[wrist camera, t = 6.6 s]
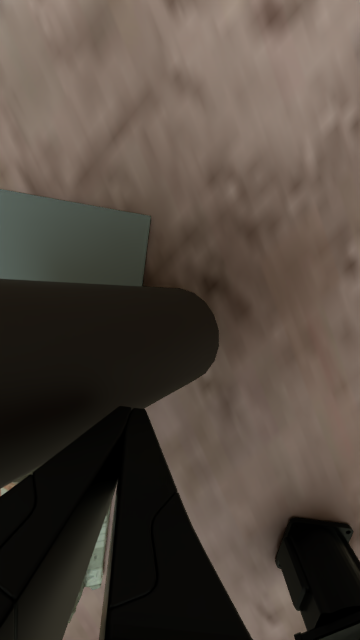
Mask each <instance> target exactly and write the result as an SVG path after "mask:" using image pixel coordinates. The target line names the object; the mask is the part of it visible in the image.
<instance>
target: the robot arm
mask: <svg viewBox="0 0 360 640" xmlns="http://www.w3.org/2000/svg"><path fill="white" fill-rule="evenodd" d="M117 482H118V483H117ZM116 485H117V491H116V498H115V507H114V515H113V524H112V533H111V541H110V550H109V558H108V567H107V575H106V584H105V592H104V601H103V609H102V618H101V626H100V635H99V640H253V639H252V638H251V636H250V634H249V632H248V630H247V629H246V627H245V625H244V623H243V621H242V619H241V618H240V616H239V614H238V612H237V610H236V608H235V606H234V605H233V603H232V601H231V599H230V597H229V595H228V593H227V591H226V590H225V588H224V586H223V584H222V582H221V580H220V578H219V577H218V575H217V573H216V571H215V569H214V567H213V565H212V563H211V562H210V560H209V558H208V556H207V554H206V552H205V550H204V548H203V546H202V544H201V542H200V540H199V538H198V536H197V534H196V532H195V530H194V529H193V526H192V524H191V522H190V519H189V517H188V515H187V512H186V510H185V508H184V505H183V503H182V500H181V498H180V495H179V493H178V492H177V488H176V486H175V483H174V480H173V478H172V475H171V473H170V470H169V468H168V465H167V463H166V460H165V458H164V455H163V453H162V450H161V448H160V445H159V442H158V440H157V437H156V435H155V432H154V430H153V427H152V425H151V422H150V420H149V417H148V415H147V412H146V410H145V409H141V408H133V409H132V408H131V407H127V406H119V407H117V408H116V409H115V410H113V411H112V412H111V413H109V414H108V415H107V416H106V417H104V418H103V419H102V420H100V421H99V422H98V423H96V424H95V425H94V426H92V427H91V428H90V429H89V430H87V431H86V432H85V433H83V434H82V435H81V436H79V437H78V438H77V439H75V440H74V441H73V442H72V443H70V444H69V445H68V446H66V447H65V448H64V449H62V450H61V451H60V452H59V453H57V454H56V455H55V456H53V457H52V458H51V459H49V460H48V461H47V462H45V463H44V464H43V465H42V466H40V467H39V468H38V469H36V470H35V471H34V472H33V474H30V475H28V476H27V477H26V478H24V479H23V480H22V481H20V482H19V483H18V484H17V485H15V486H14V487H12V488H11V489H10V490H8V491H7V492H6V493H4V494H3V495H2V496H0V640H62V639H63V636H64V633H65V630H66V627H67V625H68V622H69V619H70V616H71V613H72V610H73V608H74V605H75V602H76V599H77V596H78V594H79V591H80V588H81V585H82V582H83V579H84V577H85V574H86V571H87V568H88V565H89V562H90V560H91V557H92V554H93V551H94V548H95V545H96V543H97V540H98V537H99V534H100V531H101V529H102V526H103V523H104V520H105V517H106V514H107V512H108V509H109V506H110V503H111V500H112V497H113V495H114V492H115V488H116ZM352 534H353V530H352V528H351V526H350V525H348V524H341V523H333V522H324V521H316V520H308V519H300V518H292V519H290V521H289V523H288V526H287V529H286V532H285V535H284V537H283V540H282V543H281V546H280V549H279V551H278V554H277V557H276V560H275V562H276V565H277V567H278V568H280V569H282V572H283V575H284V578H285V581H286V584H287V587H288V590H289V593H290V596H291V599H292V602H293V605H294V607H295V609H296V610H297V611H300V612H301V615H302V617H303V620H304V623H305V626H306V629H307V631H306V632H304V633H300V632H299V633H297V634H294V637H295V640H360V561H359V560H358V558H357V556H356V555H355V553H354V551H353V550H352V548H351V546H350V545H349V541H350V538H351V536H352Z"/></svg>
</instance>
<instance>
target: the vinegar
mask: <svg viewBox="0 0 360 640" xmlns="http://www.w3.org/2000/svg"><path fill="white" fill-rule="evenodd" d="M218 347H219V330H218V327H217V324H216V320H215V317H214V314H213V313H212V311H211V310H210V308H209V307H208V306H207V304H206V303H205V302H204V301H203V300H202V299H201V298H199V297H198V296H197V295H195V294H194V293H192V292H189V291H186V290H183V289H179V288H161V287H143V286H124V285H106V284H88V283H69V282H51V281H33V280H14V279H0V489H1V488H3V487H5V486H6V485H8V484H10V483H12V482H13V481H15V480H17V479H19V478H21V477H22V476H24V475H26V474H28V473H30V472H31V471H33V470H35V469H37V468H38V467H40V466H42V465H43V464H44V463H45V462H47V461H48V460H49V459H51V458H52V457H53V456H55V455H56V454H57V453H59V452H60V451H61V450H62V449H64V448H65V447H66V446H68V445H69V444H70V443H72V442H73V441H74V440H75V439H77V438H78V437H79V436H81V435H82V434H83V433H85V432H86V431H87V430H89V429H90V428H91V427H92V426H94V425H95V424H96V423H98V422H99V421H100V420H102V419H103V418H104V417H106V416H107V415H108V414H109V413H111V412H112V411H113V410H115V409H116V408H117V407H119V406H127V407H131V408H132V409H133V408H141V409H144V408H146V407H147V406H149V405H151V404H153V403H155V402H156V401H158V400H160V399H162V398H163V397H165V396H167V395H169V394H171V393H172V392H174V391H176V390H178V389H180V388H181V387H183V386H185V385H187V384H188V383H190V382H192V381H194V380H196V379H197V378H199V377H200V376H202V375H203V374H205V373H206V372H207V370H208V369H209V367H210V366H211V365H212V363H213V362H214V360H215V357H216V354H217V350H218Z"/></svg>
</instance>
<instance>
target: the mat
mask: <svg viewBox="0 0 360 640" xmlns="http://www.w3.org/2000/svg"><path fill="white" fill-rule="evenodd" d="M150 221H151V216H148V215H142V214H137V213H131V212H125V211H120V210H114V209H109V208H103V207H97V206H92V205H86V204H81V203H75V202H69V201H64V200H58V199H53V198H47V197H41V196H36V195H30V194H25V193H19V192H13V191H8V190H2V189H0V279H14V280H33V281H51V282H69V283H88V284H106V285H124V286H142V284H143V276H144V268H145V260H146V252H147V245H148V237H149V229H150Z"/></svg>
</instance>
